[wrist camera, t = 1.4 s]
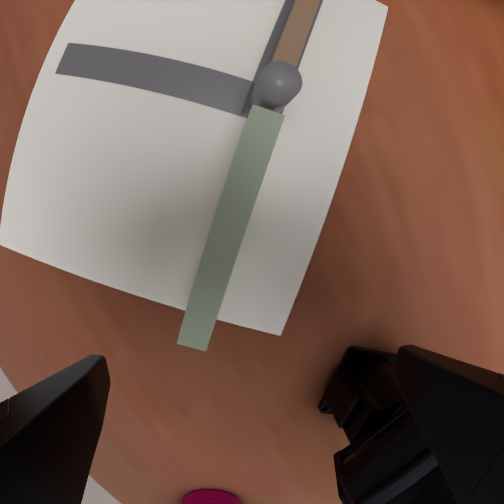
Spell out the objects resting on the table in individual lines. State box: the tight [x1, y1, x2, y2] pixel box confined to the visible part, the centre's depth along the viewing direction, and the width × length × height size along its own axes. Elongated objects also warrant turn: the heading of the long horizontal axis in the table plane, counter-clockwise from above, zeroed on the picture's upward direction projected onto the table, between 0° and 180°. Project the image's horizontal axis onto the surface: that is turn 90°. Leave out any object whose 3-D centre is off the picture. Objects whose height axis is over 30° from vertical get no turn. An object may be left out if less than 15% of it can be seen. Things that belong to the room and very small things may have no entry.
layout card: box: [0, 0, 388, 336], centre depth 15 cm, size 22×26×6 cm
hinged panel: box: [177, 104, 285, 351], centre depth 17 cm, size 12×2×4 cm, turn 161°
